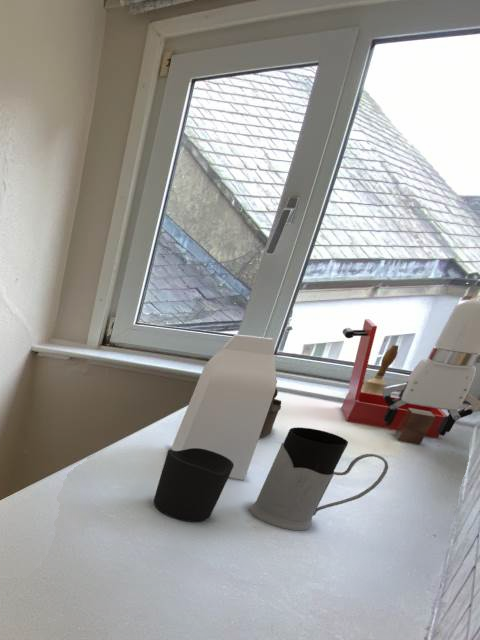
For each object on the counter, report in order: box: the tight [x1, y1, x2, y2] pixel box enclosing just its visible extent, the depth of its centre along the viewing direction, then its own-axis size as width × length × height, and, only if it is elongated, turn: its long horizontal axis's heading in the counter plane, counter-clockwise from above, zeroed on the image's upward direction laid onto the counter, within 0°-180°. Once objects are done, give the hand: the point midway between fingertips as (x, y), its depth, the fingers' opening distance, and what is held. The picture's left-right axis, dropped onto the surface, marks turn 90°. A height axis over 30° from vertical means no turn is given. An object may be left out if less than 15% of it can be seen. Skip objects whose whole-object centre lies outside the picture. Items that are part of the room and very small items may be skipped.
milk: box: [171, 333, 277, 481], centre depth 108 cm, size 12×12×26 cm
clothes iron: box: [259, 379, 282, 439], centre depth 129 cm, size 8×16×13 cm, turn 140°
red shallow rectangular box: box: [340, 389, 448, 439], centre depth 142 cm, size 18×14×5 cm
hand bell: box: [361, 344, 399, 395], centre depth 159 cm, size 8×8×16 cm
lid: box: [342, 318, 378, 400], centre depth 143 cm, size 18×14×5 cm
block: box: [393, 408, 435, 446], centre depth 130 cm, size 4×5×7 cm
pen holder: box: [153, 448, 234, 523], centre depth 92 cm, size 9×9×10 cm
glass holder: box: [249, 427, 389, 531], centre depth 89 cm, size 9×14×15 cm, turn 60°
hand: (413, 428), depth 131 cm, fingers open, 9 cm apart
